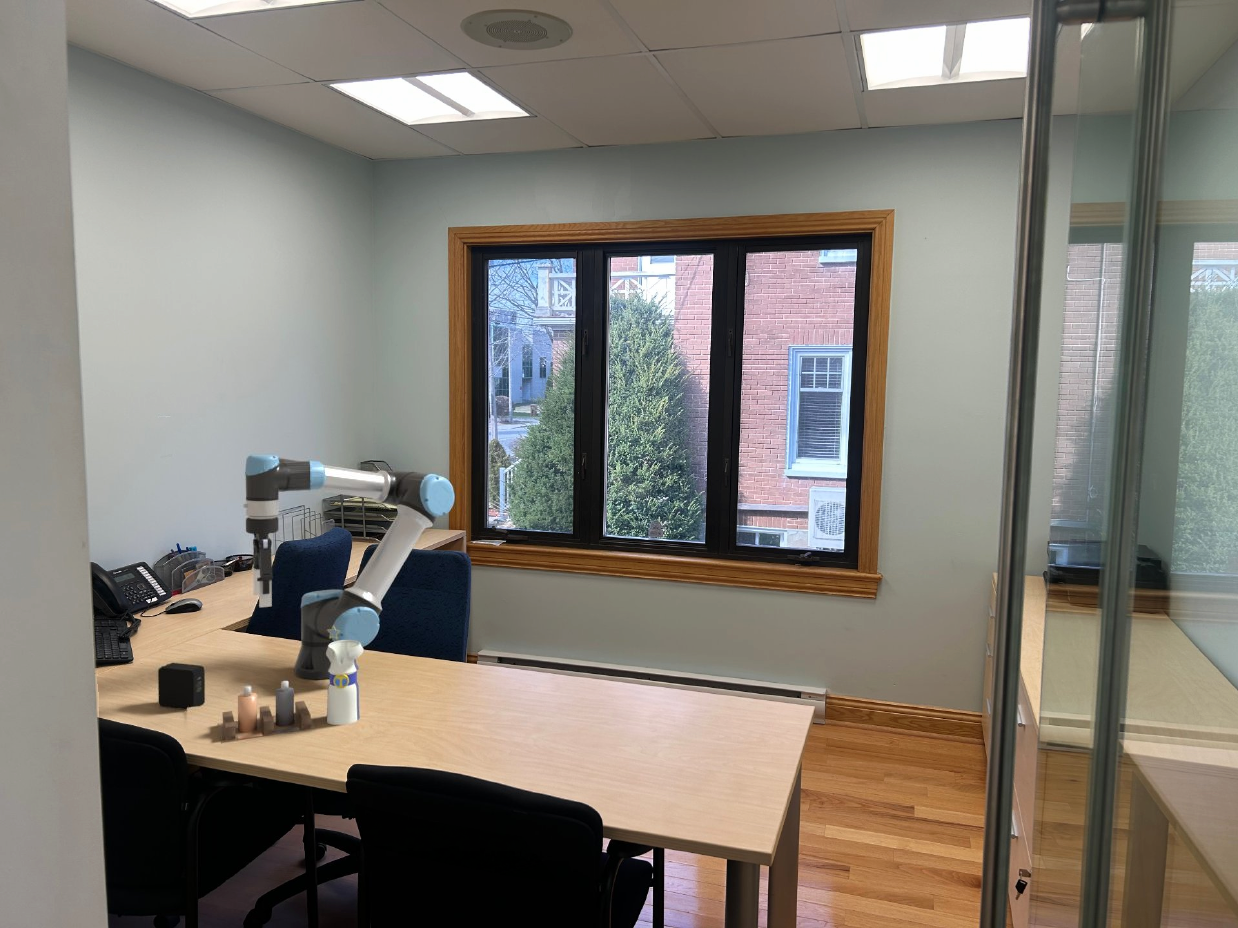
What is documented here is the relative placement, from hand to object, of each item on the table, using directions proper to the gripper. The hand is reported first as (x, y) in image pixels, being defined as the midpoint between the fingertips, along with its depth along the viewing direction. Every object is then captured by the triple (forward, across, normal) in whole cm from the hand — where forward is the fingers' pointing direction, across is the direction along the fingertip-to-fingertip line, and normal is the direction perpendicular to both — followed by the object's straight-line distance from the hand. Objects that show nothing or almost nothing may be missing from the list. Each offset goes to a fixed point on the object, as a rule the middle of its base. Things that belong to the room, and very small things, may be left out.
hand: (262, 600), depth 209 cm
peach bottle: (+26, +18, -5) cm, 32 cm away
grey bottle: (+26, +18, +3) cm, 32 cm away
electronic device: (+27, -7, -18) cm, 33 cm away
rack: (+27, +18, -1) cm, 32 cm away
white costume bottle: (+27, +21, +16) cm, 38 cm away
